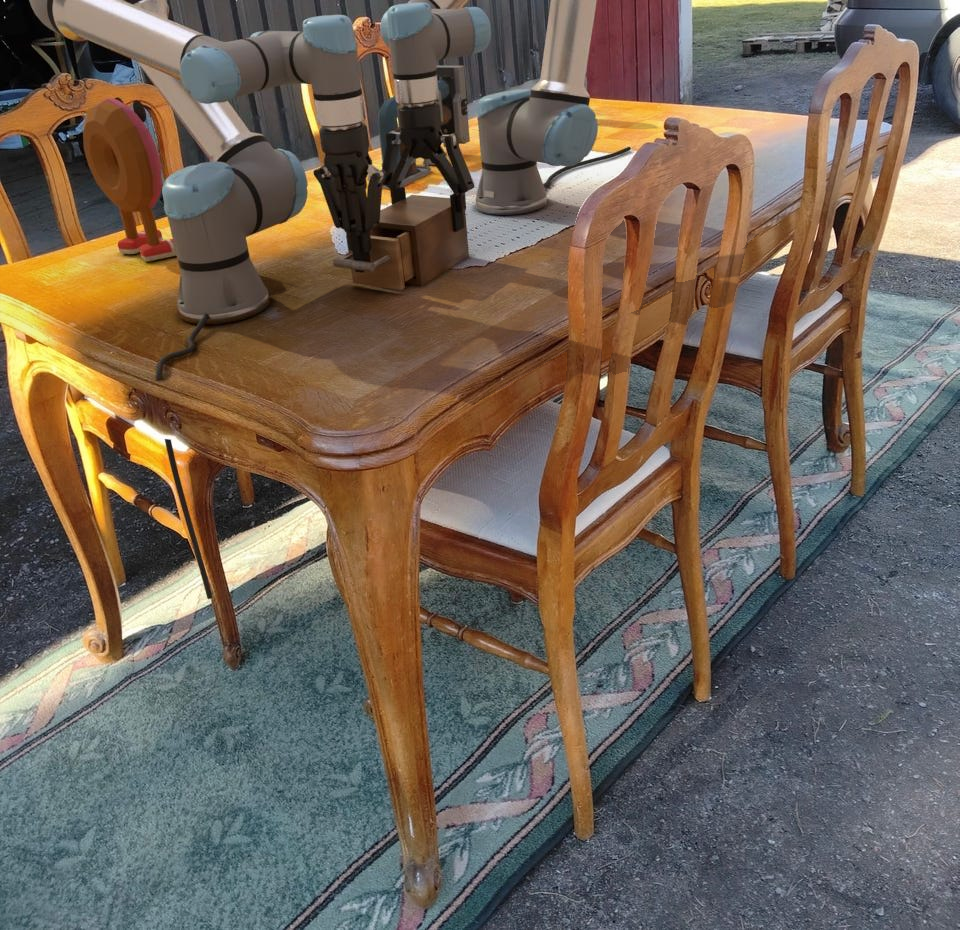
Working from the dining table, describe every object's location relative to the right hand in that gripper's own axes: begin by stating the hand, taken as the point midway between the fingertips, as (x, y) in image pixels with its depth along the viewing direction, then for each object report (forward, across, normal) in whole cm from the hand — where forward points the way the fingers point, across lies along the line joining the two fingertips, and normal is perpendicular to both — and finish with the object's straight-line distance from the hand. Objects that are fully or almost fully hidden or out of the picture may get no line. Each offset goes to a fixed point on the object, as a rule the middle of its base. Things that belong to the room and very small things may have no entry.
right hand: (430, 226), depth 178 cm
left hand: (+1, 0, +21) cm, 21 cm away
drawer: (+5, 0, +14) cm, 15 cm away
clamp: (+6, +40, -56) cm, 69 cm away
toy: (+6, +59, +15) cm, 61 cm away
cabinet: (+6, 0, +5) cm, 8 cm away
